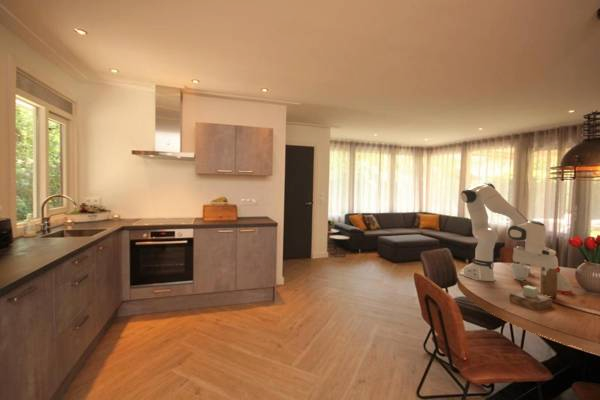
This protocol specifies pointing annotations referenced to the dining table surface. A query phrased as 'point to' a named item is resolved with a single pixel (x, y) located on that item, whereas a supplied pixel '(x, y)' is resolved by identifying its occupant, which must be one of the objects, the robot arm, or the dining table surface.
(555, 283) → the block
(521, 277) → the teacup
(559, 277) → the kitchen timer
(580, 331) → the dining table surface
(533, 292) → the sage cube
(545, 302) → the walnut base block
